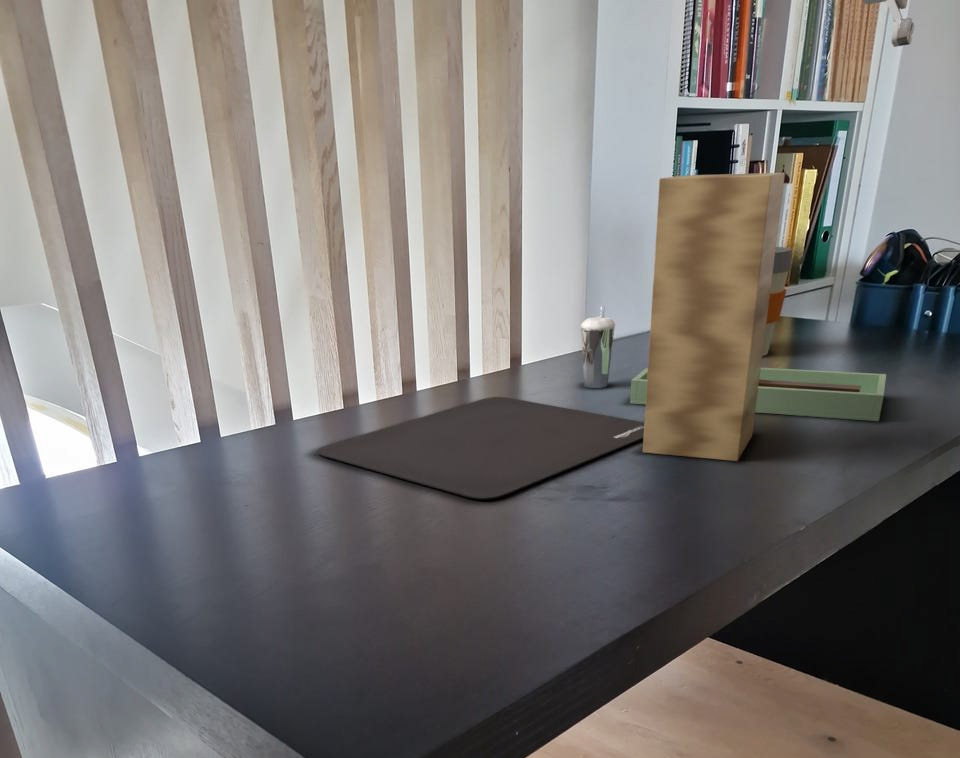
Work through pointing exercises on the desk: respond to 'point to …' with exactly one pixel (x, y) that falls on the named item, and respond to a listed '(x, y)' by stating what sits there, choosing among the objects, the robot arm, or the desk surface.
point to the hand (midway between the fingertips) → (953, 35)
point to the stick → (809, 385)
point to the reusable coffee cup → (776, 292)
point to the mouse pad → (487, 446)
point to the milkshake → (597, 350)
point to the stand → (709, 311)
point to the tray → (806, 394)
